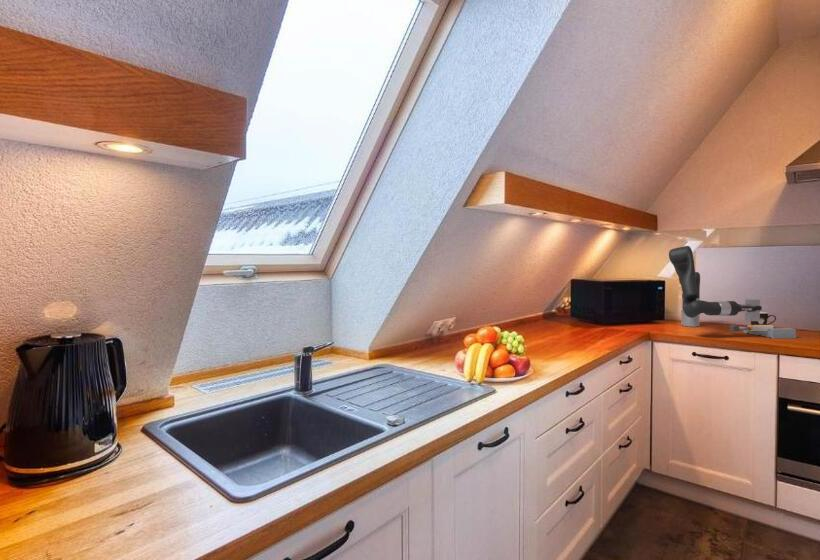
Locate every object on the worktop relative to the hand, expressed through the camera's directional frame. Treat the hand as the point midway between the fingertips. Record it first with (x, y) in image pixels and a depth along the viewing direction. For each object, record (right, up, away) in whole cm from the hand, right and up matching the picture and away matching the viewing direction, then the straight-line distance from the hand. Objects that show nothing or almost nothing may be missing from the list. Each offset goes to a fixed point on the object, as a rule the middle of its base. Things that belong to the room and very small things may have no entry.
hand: (757, 307), depth 236 cm
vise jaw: (+5, -13, +11) cm, 18 cm away
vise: (+10, -15, +6) cm, 19 cm away
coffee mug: (+21, -14, +24) cm, 35 cm away
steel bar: (-3, -7, 0) cm, 7 cm away
